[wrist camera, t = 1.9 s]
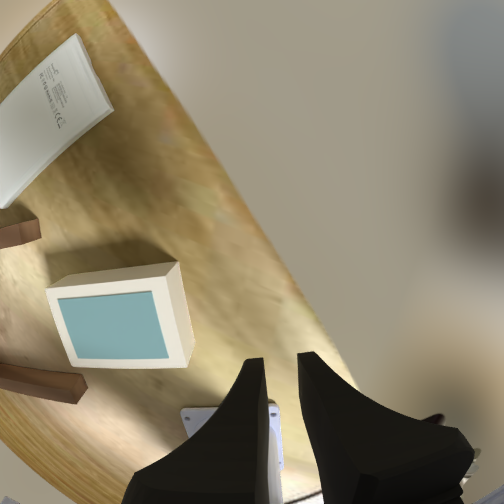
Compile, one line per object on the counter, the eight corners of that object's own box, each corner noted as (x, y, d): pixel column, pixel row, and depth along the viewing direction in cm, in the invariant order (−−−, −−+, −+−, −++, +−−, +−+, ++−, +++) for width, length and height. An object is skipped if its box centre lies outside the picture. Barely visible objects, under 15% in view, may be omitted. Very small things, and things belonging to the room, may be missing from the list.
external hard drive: (-13, 133, 17) (83, 38, 16) (11, 207, 19) (118, 112, 18) (-25, 132, 16) (73, 30, 14) (-1, 210, 17) (108, 107, 16)
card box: (196, 340, 21) (187, 368, 17) (91, 344, 21) (71, 367, 18) (179, 259, 20) (164, 276, 16) (70, 273, 20) (43, 289, 16)
